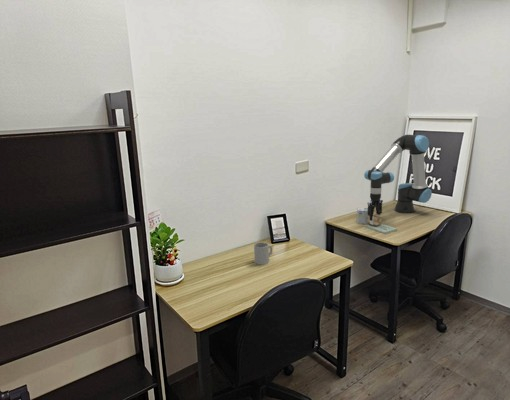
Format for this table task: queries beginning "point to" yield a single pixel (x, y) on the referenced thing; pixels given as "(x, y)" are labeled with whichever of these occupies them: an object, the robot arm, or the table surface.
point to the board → (381, 228)
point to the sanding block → (375, 220)
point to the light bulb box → (362, 215)
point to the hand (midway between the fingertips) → (374, 223)
